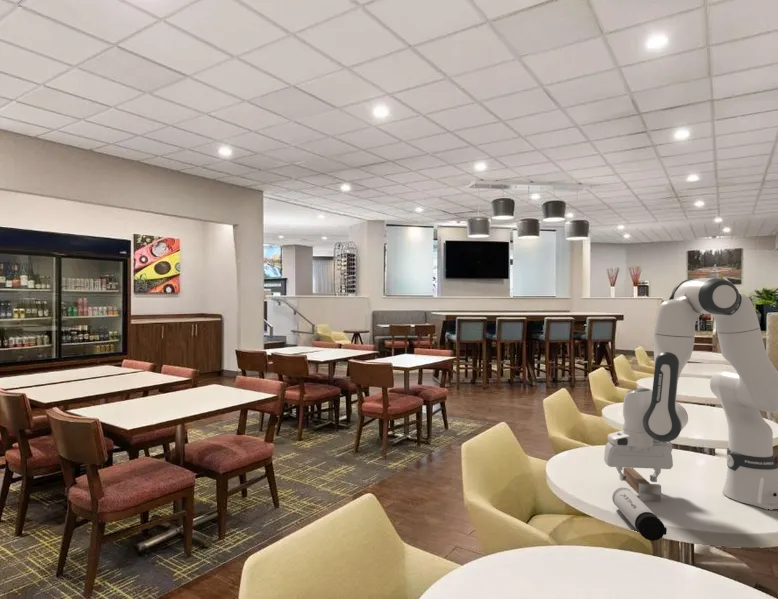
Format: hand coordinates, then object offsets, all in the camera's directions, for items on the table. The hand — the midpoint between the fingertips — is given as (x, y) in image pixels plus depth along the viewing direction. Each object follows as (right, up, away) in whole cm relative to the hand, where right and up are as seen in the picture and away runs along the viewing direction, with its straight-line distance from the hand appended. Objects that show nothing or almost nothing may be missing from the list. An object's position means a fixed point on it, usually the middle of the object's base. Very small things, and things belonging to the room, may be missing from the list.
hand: (638, 480), depth 159 cm
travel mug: (-12, 0, -15) cm, 19 cm away
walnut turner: (0, -3, 0) cm, 3 cm away
